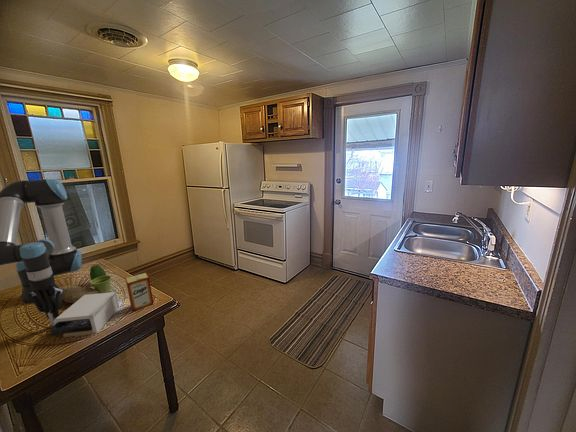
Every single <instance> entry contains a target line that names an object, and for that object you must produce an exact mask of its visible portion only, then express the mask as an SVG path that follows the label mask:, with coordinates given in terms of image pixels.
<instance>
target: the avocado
mask: <svg viewBox="0 0 576 432" xmlns="http://www.w3.org/2000/svg"><path fill="white" fill-rule="evenodd" d="M106 272H107V271H105V269H104V268H103V267H102V266H101V265H99V264H93V265H92V266H91V267H90V270H89V278H90V280H91V281H92V280H93V279H95V278H98V277H101V276H107V273H106Z"/></svg>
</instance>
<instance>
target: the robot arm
mask: <svg viewBox="0 0 576 432" xmlns="http://www.w3.org/2000/svg"><path fill="white" fill-rule="evenodd" d="M67 199H68V195H67V191H66V189H65V186H64V185H63V183H62V182H61V181H60V180H58V179H56V178H53V179H51V178H49V179H48V178H46V179H32V180H31V179H30V180H18V181H17V180H16V181H14V182H11V183H8V184H7V185H6V186H4V187H3V188H2V189H1V190H0V266H3V265H10V264H15V263H16V264H15V268H16V272H17V275H18V278H19V280H20V283H21V286H22V288H21V289H22V290H21V296H20V298H21V299H20V300H21V302H22V303H25V304H32V303H34V306H35V307H36V309H37V310H38V312H39V313H44V314H45V315H46V317H47V319H49V323H50V325H51V326H52V327H53V326H54V325H55V324H56V323H58V322H56V318H57V317H58V316H60V313H59V310H60V309H61V308H63V299H62V293H63V291H64V289H65V288H61V289H60V287H59V286H58V285H57V284H56V283H55V282H56V279H55V276H57V275H59V276H60V275H63V274H67V273H72V272H76V271H79V270H81V269H82V262H83V256H82V255H83V254H82V251H81V250H78V249H77V247H76V246H74V245H73V244H72V241H71V237H70V232H69V229H68V225H67V221H66V216H65V213H64V209H63V205H64V204H65V203H66V202H65V200H67ZM28 203H29V204H30V203H34V206H35V207H37V208H39V209H40V212H41V216H42V219H43V223H44V226H45V230H46V234H47V237H48V239H39V240H37V241H35V242H30V243H25V244H24V243H22V244H17V240H18V239H17V238H18V232H19V225H20V217H21V212H22V209H23V208H24V207H25V204H28Z"/></svg>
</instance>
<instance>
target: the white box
mask: <svg viewBox="0 0 576 432" xmlns="http://www.w3.org/2000/svg"><path fill="white" fill-rule="evenodd" d="M119 308H120V305H119V300H118V295H117V292H116V291H113V292H112V291H111V292H110V293H100V294H89V295H84V296H82V297H81V298H80V299H79V300H78V301H76V302H75V303H72V305H70V306H69V307H68V308H67V309H65V310H64V311H63V312H62V313H61V314H59V316H58V317H57V318H56V322H61V321H71V320H80V319H90V322H91V326H92V330H90V331H80V332H71V333H64V334H63V335H62V336H63V338H68V337H78V336H79V337H80V336H86V335H93V334H98V333H99V332H100V331H101V330H102V328H103V327H104V325H105V324H106V323H107V322H108V321H109V320H110V319H111V318H112V317H113V315H114V314H115V313H116V312H117V311H118V310H119Z"/></svg>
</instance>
